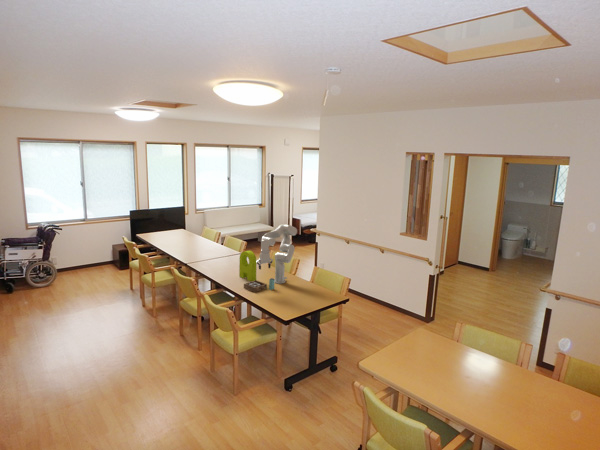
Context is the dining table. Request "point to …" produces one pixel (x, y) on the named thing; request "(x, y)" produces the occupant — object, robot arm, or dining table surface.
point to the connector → (271, 283)
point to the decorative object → (247, 266)
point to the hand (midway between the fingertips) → (264, 268)
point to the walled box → (255, 286)
